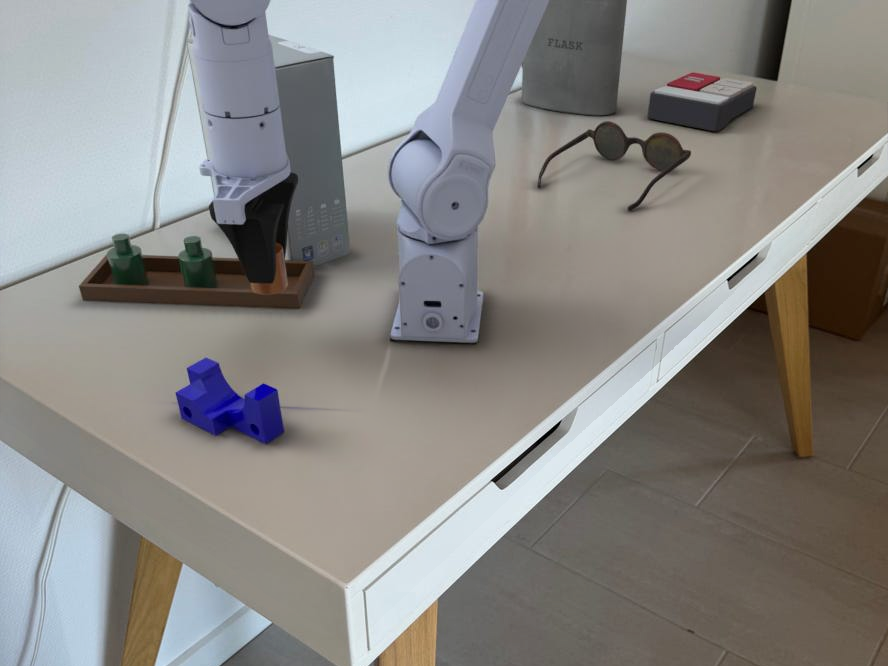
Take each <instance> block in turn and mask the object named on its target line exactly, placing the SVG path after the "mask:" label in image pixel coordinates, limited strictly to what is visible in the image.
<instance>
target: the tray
mask: <svg viewBox="0 0 888 666" xmlns="http://www.w3.org/2000/svg"><path fill="white" fill-rule="evenodd" d="M142 255H143V259H144V263H145V267H146V271H147V275H148V280H149V284H148V285H147V286H139V285H115V283H114V279H113V275H112V272H111V268H110V264H109V260H108V257H107V254H105V256H104V257H103V258H102V259H101V260H100V261H99V262H98V264H97V265H96V266H95V267H94V268H93V269H92V270H91V271H90V272H89V274H88V275H87V276H86V277H85V278H84V279H83V280H82V282H81V283H80V284H79V285H78V288H79V292H80V296H81V299H82V301H84V302H111V303H112V302H113V303H134V304H135V303H138V304H160V305H161V304H164V305H189V306H190V305H191V306H192V305H193V306H212V307H213V306H215V307H216V306H217V307H239V308H241V307H242V308H243V307H245V308H267V309H268V308H269V309H290V310H291V309H294V310H299V309H300V308H301V306H302V304H303V302H304V301H305V300H304V299H305V298H306V295H307V293H308V292H309V289H310V286H311V285H312V282H313V280H314V277H315V268H314V267H315V266H313V261H296V260H285V266H286V273H287V280H288V286H287V288H286V289H285V290H284V291H282V292H279V293H276V294H271V295H262V294H257V293H255V292H253V291H252V290H251V287H250V282H249V281H248V279H247V277H246V275H245V273H244V270H243V268H242V266H241V264H240V261H239V259H238V257H237V258H235V257H213V261H214V266H215V271H216V277H217V282H218V287H217V288H193V287H184V282H183V278H182V273H181V268H180V264H179V259H178V255H158V254H157V255H154V254H151V255H150V254H142Z"/></svg>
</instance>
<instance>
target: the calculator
mask: <svg viewBox="0 0 888 666" xmlns="http://www.w3.org/2000/svg"><path fill="white" fill-rule="evenodd" d="M756 93H757V86H755V85H754V82H752V81H746V80H742V79H741V80H740V79H734V78H729V77H723V78H721V76H717V75H712V74H705V73H700V72H689V73H687V74H685V75H683V76H680V77H679V78H676V79H674V80H672V81H669V82H667V83H666V85H663V86H661V87H659V88H656V89H655V90H654V91H651V92H650V94H649V101H648V109H647V116H646V117H647V119H649V120H654V121H659V122H665V123H669V124H675V125H679V126H685V127H690V128H695V129H699V130H700V129H701V130H705V131H710V132H719V131H721V130H722V129H724V128H726V127H727V125H728V124H729V122H730V121H731V120H732V119H734V118H736V117H738V116H740V115H741V114H743V113H745V112H747V111H748V110H750V109H752V108H753V107H754V104H755V99H756V95H757V94H756Z"/></svg>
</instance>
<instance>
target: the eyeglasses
mask: <svg viewBox="0 0 888 666" xmlns="http://www.w3.org/2000/svg"><path fill="white" fill-rule="evenodd" d="M588 138H591V139H592V140H593V144H594V147H595V149H596V152H597V153H598V154H599V155H600V156H601V157H602V158H604V159H606V160H609V161H617V160H620V159H622V158H623V157H624V156H625V155H626V153H627V152H628V150H629V148H630V146H632V145H635V144H636V145H639V146H640V147H641V152H642V157H643V159H644V160H645V162H646V163H647V164H648V165H649V166H650V167H651V168H653V169H655V170H657V171H661V172H659V173H658V175H656V176H655V177H654V178H652V179H651V181H650V182H649V183H648V184H647V186H646V187H645V188H644V191H643V192H642V193H641V195H640V196H639V198H637V200H636V201H635V202H633V203H632V204H629V205H628V206H627V211H628V212H631V211H633V210H635V209H637V208H638V207H639V206H641V204H642V203H643V201H645V198H646V197H647V196H648V194H649V192H650V191H651V189H652V188H653V187H654V186H655V184H656V183H658V182H659V181H660V180H661V179H663V178H664V177H665V176H667V175H668V174H669V173H670V172H673V171H674V170H675V169H676V168H678V167H680V166H681V165H682V164H684V163H685V162H686V161H687V160H688V159H690V158H691V155H692V151H691V150H689V149H684V148H683V147H682V144H681V142H680V141H679V140H678V138H677V137H675V136H674V135H672V134H670V133H669V132H661V131H660V132H655V133H652V134H651V135H649V136H648V138H646V139H645V140H643V139H642V138H638V137H635V136H633V137H628V136H627V134H626V133H625V132H624V130H623V128H622V127H621V126H620V125H618V124H617V123H616V122H613V121H609V120H607V121H606V120H605V121H603V122H600V123H599V124H598V125H597V126H596V127H595V128H594V130H593V129H587V130H586V131H585V132H583V133H581V134H579V135H578V136H576V137H575V138H573V139H571V140H570V141H568V142H567V143H566V144H564V145H562V146H561V147H559V148H558V149H556V150H555V151H554V152H552V153H550V154H549V155H548V157H547V158H546V159H545V160H544V162H543V164H542V167H541V168H540V171H539V173H538V177H537V179H538V180H537V188H541V185H542V178H543V175H544V174H545V172H546V170H547V167H548V165H549V164H550V162H551V161H552V160H553V159H555V157H557V156H558V155H560V154H562V153H563V152H564V153H565V152H566V151H567V150H568V149H569V150H570V149H571V148H572V147H574V146H576V145H578V144H579V143H581V142H583V141H584V140H587V139H588Z"/></svg>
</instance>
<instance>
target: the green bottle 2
mask: <svg viewBox="0 0 888 666" xmlns="http://www.w3.org/2000/svg"><path fill="white" fill-rule="evenodd" d="M201 239H202V238H201V237H200V236H199V235H198V236H197V235H189V236H187V237H184V239H183V246H184V249H183V250H182V251H180V252H179V253H178V255H177V256H178V259H179V264H180V268H181V273H182V278H183V282H184V287H193V288H217V287H218V282H217V277H216V271H215V266H214V261H213V258H214V255H213V252H212V250H211V249H209V248H207V247H203V243H202V240H201Z"/></svg>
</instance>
